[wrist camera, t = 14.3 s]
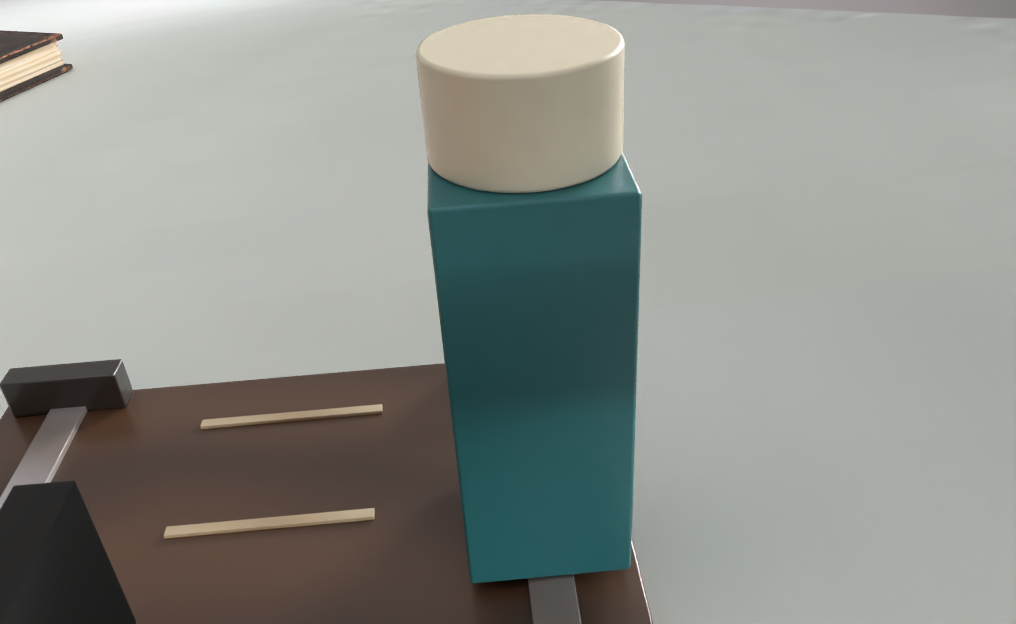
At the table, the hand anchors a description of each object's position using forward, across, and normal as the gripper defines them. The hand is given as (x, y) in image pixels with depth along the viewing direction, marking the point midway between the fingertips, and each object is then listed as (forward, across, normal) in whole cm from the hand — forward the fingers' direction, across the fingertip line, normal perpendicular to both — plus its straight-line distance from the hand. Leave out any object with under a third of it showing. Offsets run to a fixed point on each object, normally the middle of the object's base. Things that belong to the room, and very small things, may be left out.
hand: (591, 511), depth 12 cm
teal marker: (+7, 0, -6) cm, 9 cm away
